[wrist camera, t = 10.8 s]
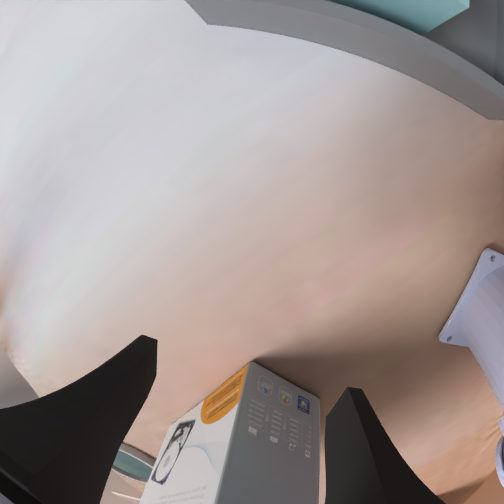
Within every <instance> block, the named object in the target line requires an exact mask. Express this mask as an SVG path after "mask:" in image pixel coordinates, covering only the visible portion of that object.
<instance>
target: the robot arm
mask: <svg viewBox="0 0 504 504" xmlns="http://www.w3.org/2000/svg"><path fill="white" fill-rule="evenodd" d="M492 255H493V257H492V259H491V256H492ZM449 336H450V337H449ZM448 337H449V338H448ZM438 338H439V340H440V342H442V343H448V344H453V345H459V346H465V347H469V348H470V350H471V352H472V353H473V355H474V357H475V358H476V360H477V362H478V364H479V365H480V367H481V369H482V371H483V373H484V374H485V376H486V378H487V380H488V382H489V384H490V385H491V387H492V389H493V391H494V393H495V395H496V397H497V399H498V401H499V403H500V405H501V407H502V409H503V411H504V255H503V254H501V253H499V252H497V251H494V250H492V249H490V248H486V249H484V250H483V252H482V254H481V256H480V259H479V261H478V263H477V265H476V267H475V270H474V272H473V274H472V276H471V278H470V280H469V282H468V284H467V286H466V288H465V290H464V292H463V294H462V296H461V297H460V299H459V301H458V303H457V305H456V307H455V308H454V310H453V312H452V314H451V315H450V317H449V319H448V321H447V322H446V324H445V326H444V327H443V329H442V331H441V332H440V334H439V336H438ZM157 341H158V340H156V339H153V338H150V337H148V336H145V335H141V336H139V337H138V338H137V339H135V340H134V341H133V342H132V343H130V344H129V345H128V346H127V347H125V348H124V349H123V350H121V351H120V352H119V353H117V354H116V355H115V356H113V357H112V358H111V359H109V360H108V361H106V362H105V363H104V364H102V365H101V366H99V367H98V368H96V369H95V370H93V371H92V372H90V373H88V374H87V375H85V376H84V377H82V378H80V379H79V380H77V381H75V382H73V383H71V384H69V385H68V386H66V387H64V388H62V389H59V390H57V391H55V392H53V393H50V394H48V395H46V396H43V397H41V398H38V399H36V400H33V401H29V402H26V403H23V404H19V405H16V406H13V407H9V408H4V409H0V504H100V500H101V497H102V494H103V491H104V488H105V485H106V482H107V479H108V476H109V474H110V471H111V468H112V466H113V463H114V461H115V458H116V456H117V453H118V451H119V448H120V446H121V444H122V442H123V440H124V438H125V436H126V434H127V433H128V431H129V429H130V427H131V426H132V424H133V422H134V420H135V418H136V417H137V415H138V413H139V411H140V410H141V408H142V406H143V404H144V402H145V401H146V399H147V397H148V395H149V392H150V390H151V387H152V385H153V382H154V380H155V377H156V369H157ZM499 426H500V428H501V431H502V433H503V436H502V437H501V438H500V440H499V442H498V445H497V448H496V453H495V463H496V470H497V474H498V477H499V480H500V482H501V484H502V486H503V487H504V416H503V418H502V419H501V421H500V422H499ZM325 465H326V499H325V504H446V503H444V502H443V501H442V500H441V499H440V498H438V497H437V496H436V495H435V494H434V493H433V492H432V491H431V490H430V489H429V488H428V487H427V486H426V485H425V484H424V483H423V482H422V481H421V480H420V479H419V478H418V477H417V476H416V474H415V473H414V472H413V471H412V469H411V468H410V467H409V466H408V464H407V463H406V462H405V461H404V459H403V458H402V456H401V455H400V454H399V452H398V450H397V449H396V447H395V446H394V444H393V443H392V441H391V440H390V438H389V437H388V435H387V433H386V432H385V430H384V428H383V426H382V425H381V423H380V421H379V419H378V418H377V416H376V414H375V412H374V410H373V409H372V407H371V405H370V403H369V401H368V399H367V398H366V396H365V394H364V392H363V391H362V389H358V388H351V387H347V388H346V390H345V391H344V393H343V394H342V396H341V397H340V399H339V400H338V402H337V403H336V404H335V406H334V407H333V409H332V410H331V411H330V413H329V414H328V416H327V417H326V427H325Z"/></svg>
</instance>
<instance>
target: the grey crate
mask: <svg viewBox="0 0 504 504" xmlns="http://www.w3.org/2000/svg"><path fill="white" fill-rule="evenodd" d="M185 1H186V2H187V3H188V4H189V5H190V6H191V7H192V8H193V9H194V10H195V11H196V12H197V14H198V15H199V16H200V17H201V18H202V19H203V20H204V21H205V22H206V23H207V24H210V25H221V26H230V27H238V28H246V29H252V30H259V31H264V32H270V33H275V34H280V35H285V36H290V37H294V38H299V39H303V40H307V41H311V42H315V43H318V44H322V45H326V46H329V47H332V48H336V49H339V50H342V51H345V52H348V53H352V54H355V55H357V56H360V57H363V58H366V59H369V60H371V61H374V62H377V63H379V64H382V65H384V66H387V67H389V68H392V69H394V70H397V71H399V72H401V73H404V74H406V75H408V76H410V77H412V78H415V79H417V80H419V81H421V82H423V83H425V84H427V85H429V86H431V87H433V88H435V89H437V90H439V91H441V92H443V93H445V94H447V95H448V96H450V97H452V98H454V99H456V100H457V101H459V102H461V103H463V104H464V105H466V106H468V107H469V108H471V109H473V110H474V111H476V112H477V113H479V114H481V115H482V116H484V117H485V118H487V119H491V120H504V0H469V8H468V9H466V10H464V11H462V12H461V13H459V14H457V15H455V16H454V17H452V18H450V19H449V20H447V21H445V22H444V23H442V24H440V25H439V26H437V27H435V28H434V29H432V30H431V31H429V32H427V33H426V34H424V35H423V36H421V35H419V34H417V33H415V32H412V31H410V30H408V29H406V28H404V27H401V26H399V25H397V24H394V23H392V22H389V21H387V20H384V19H382V18H379V17H377V16H374V15H371V14H368V13H365V12H363V11H360V10H357V9H354V8H350V7H347V6H344V5H341V4H337V3H334V2H332V0H185Z"/></svg>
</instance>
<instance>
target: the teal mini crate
mask: <svg viewBox="0 0 504 504" xmlns="http://www.w3.org/2000/svg"><path fill="white" fill-rule="evenodd" d="M332 2H334V3H337V4H341V5H344V6H347V7H350V8H354V9H357V10H360V11H363V12H365V13H368V14H371V15H374V16H377V17H379V18H382V19H384V20H387V21H389V22H392V23H394V24H397V25H399V26H401V27H404V28H406V29H408V30H410V31H412V32H415V33H417V34H419V35H421V36H423V35H424V34H426V33H427V32H429V31H431V30H432V29H434V28H435V27H437V26H439V25H440V24H442V23H444V22H445V21H447V20H449V19H450V18H452V17H454V16H455V15H457V14H459V13H461V12H462V11H464V10H466V9H468V8H469V0H332Z"/></svg>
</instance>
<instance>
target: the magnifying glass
mask: <svg viewBox="0 0 504 504" xmlns="http://www.w3.org/2000/svg"><path fill="white" fill-rule="evenodd" d="M155 462H156V461H155V460H153V459H152V458H150V457H149V456H147V455H145V454H144V453H142V452H140V451H138V450H136V449H135V448H133V447H130V446H128V445H126V444H124V443H122V444H121V446H120V448H119V451H118V453H117V456H116V458H115V461H114V463H113V466H112V468H111V469H112V470H114V471H116V472H117V473H119V474H121V475H123V476H126V477H128V478H130V479H133V480H136V481H139V482H142V483H147V482H148V480H149V477H150V475H151V472H152V470H153V467H154V464H155Z"/></svg>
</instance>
